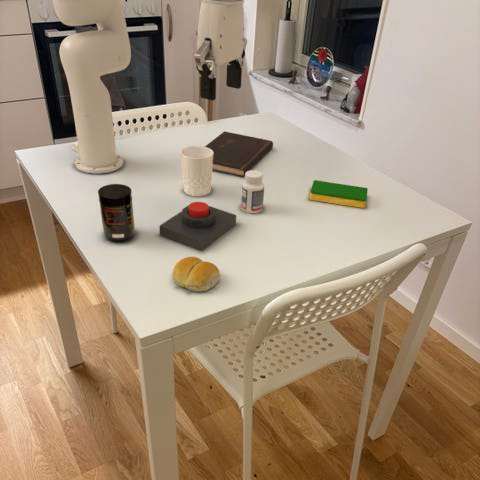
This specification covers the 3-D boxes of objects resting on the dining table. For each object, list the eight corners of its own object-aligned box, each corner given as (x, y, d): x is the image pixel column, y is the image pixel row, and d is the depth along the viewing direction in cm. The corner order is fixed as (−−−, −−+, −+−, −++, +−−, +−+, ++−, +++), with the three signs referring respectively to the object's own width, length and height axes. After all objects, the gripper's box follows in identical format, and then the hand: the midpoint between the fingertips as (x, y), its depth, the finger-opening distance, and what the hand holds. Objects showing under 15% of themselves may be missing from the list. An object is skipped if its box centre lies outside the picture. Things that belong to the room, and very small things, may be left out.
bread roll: (189, 262, 105) (189, 245, 102) (225, 278, 101) (226, 261, 99) (163, 281, 99) (162, 264, 97) (200, 298, 96) (200, 280, 93)
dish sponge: (312, 188, 135) (314, 179, 133) (365, 196, 133) (367, 187, 131) (309, 200, 129) (310, 191, 128) (364, 208, 127) (366, 199, 126)
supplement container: (134, 226, 115) (130, 182, 108) (136, 242, 110) (132, 197, 103) (103, 228, 113) (97, 184, 107) (104, 245, 108) (98, 199, 102)
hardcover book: (190, 165, 142) (190, 157, 140) (224, 138, 158) (224, 131, 157) (244, 177, 137) (244, 169, 136) (272, 148, 154) (273, 141, 153)
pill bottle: (265, 206, 126) (268, 171, 120) (258, 215, 122) (261, 180, 116) (244, 201, 127) (246, 167, 121) (237, 211, 123) (239, 175, 117)
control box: (159, 235, 112) (158, 217, 110) (196, 211, 122) (196, 193, 119) (201, 251, 108) (201, 232, 106) (235, 224, 118) (236, 206, 115)
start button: (184, 214, 112) (184, 207, 111) (196, 207, 115) (196, 199, 114) (201, 220, 110) (201, 213, 109) (212, 212, 113) (212, 205, 112)
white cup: (208, 199, 127) (208, 160, 120) (177, 195, 128) (176, 156, 121) (215, 186, 133) (216, 148, 126) (186, 182, 134) (185, 144, 127)
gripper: (230, -15, 99) (227, 80, 110) (178, -6, 87) (180, 99, 98) (264, -11, 96) (258, 86, 107) (215, 0, 84) (214, 107, 95)
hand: (221, 92), depth 102 cm, fingers open, 9 cm apart
